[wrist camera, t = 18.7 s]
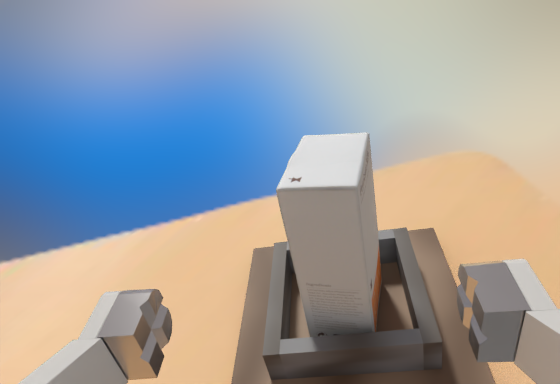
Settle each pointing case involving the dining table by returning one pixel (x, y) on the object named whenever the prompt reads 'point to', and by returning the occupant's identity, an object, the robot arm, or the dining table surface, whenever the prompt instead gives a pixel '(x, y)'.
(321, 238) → the skincare box
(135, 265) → the dining table surface
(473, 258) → the dining table surface
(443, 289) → the collar stand
